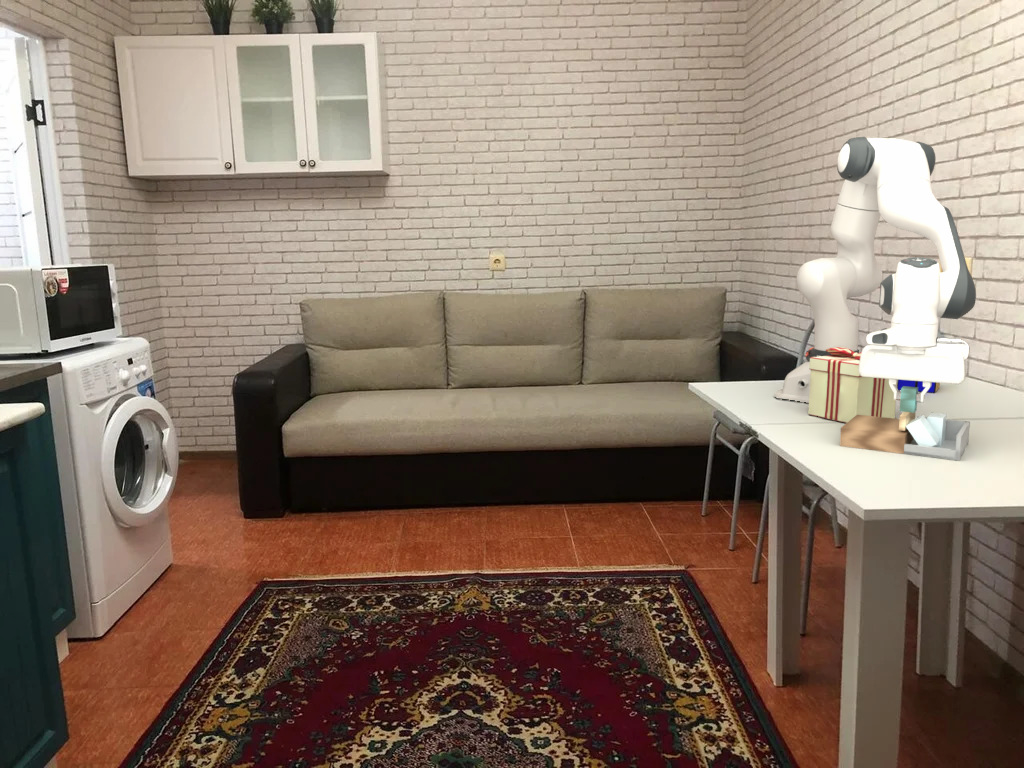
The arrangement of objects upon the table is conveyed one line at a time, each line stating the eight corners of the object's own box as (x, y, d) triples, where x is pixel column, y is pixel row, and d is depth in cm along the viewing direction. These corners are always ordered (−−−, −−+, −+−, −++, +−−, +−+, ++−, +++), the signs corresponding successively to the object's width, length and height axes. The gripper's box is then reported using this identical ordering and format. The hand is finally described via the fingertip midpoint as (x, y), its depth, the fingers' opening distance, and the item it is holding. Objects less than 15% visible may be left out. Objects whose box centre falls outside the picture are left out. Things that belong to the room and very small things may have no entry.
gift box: (905, 417, 192) (910, 348, 189) (860, 427, 183) (864, 355, 180) (844, 405, 207) (848, 341, 204) (799, 415, 197) (802, 348, 194)
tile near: (905, 426, 160) (919, 419, 159) (909, 421, 164) (923, 414, 163) (922, 451, 159) (936, 444, 158) (926, 445, 163) (940, 439, 162)
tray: (903, 453, 160) (905, 430, 159) (916, 438, 172) (917, 416, 171) (959, 460, 154) (961, 436, 153) (968, 444, 166) (969, 421, 165)
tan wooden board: (839, 445, 167) (840, 427, 166) (856, 431, 179) (857, 414, 178) (903, 453, 160) (905, 435, 159) (916, 438, 172) (917, 420, 171)
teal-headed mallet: (894, 429, 162) (897, 391, 160) (904, 418, 171) (907, 382, 170) (909, 431, 160) (912, 393, 158) (918, 419, 169) (921, 383, 168)
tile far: (927, 416, 163) (943, 418, 162) (931, 412, 167) (946, 413, 166) (925, 444, 165) (941, 446, 163) (929, 439, 168) (944, 440, 167)
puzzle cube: (896, 390, 225) (898, 356, 224) (902, 385, 233) (904, 352, 232) (935, 393, 220) (938, 358, 218) (939, 388, 228) (942, 354, 226)
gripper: (972, 337, 159) (966, 403, 161) (865, 332, 170) (861, 393, 173) (968, 340, 154) (963, 408, 156) (858, 335, 165) (854, 398, 168)
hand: (908, 400), depth 165 cm, fingers closed on teal-headed mallet, 3 cm apart
